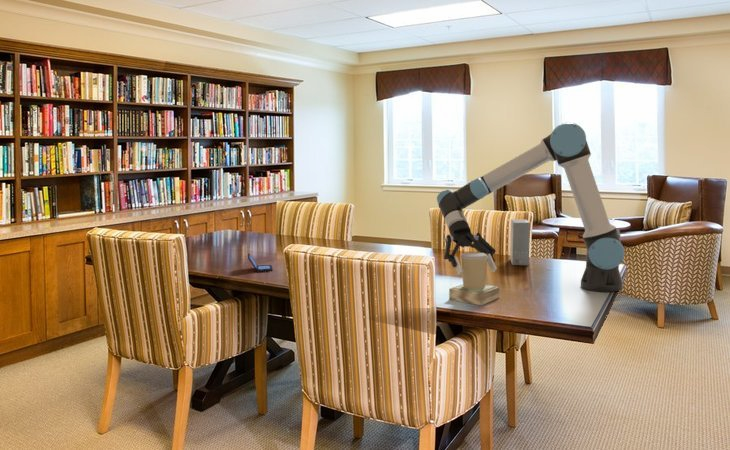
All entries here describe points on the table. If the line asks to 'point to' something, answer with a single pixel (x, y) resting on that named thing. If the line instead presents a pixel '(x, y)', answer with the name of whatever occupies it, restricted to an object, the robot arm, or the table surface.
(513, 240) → the hard drive box
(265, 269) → the handheld game console
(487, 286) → the birch riser
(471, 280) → the coffee cup
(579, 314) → the table surface
